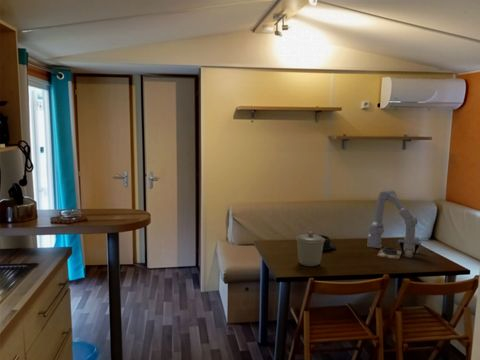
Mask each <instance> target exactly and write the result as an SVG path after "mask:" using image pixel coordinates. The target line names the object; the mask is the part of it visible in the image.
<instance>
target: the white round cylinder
mask: <svg viewBox="0 0 480 360" xmlns="http://www.w3.org/2000/svg"><path fill="white" fill-rule="evenodd" d="M413 256H414V253H413V249H411V248H406V249H405V251H404V257H405V258H413Z"/></svg>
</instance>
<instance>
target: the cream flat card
mask: <svg viewBox="0 0 480 360" xmlns="http://www.w3.org/2000/svg"><path fill="white" fill-rule="evenodd" d="M401 255H403V254H402V250H398V249H397V248H396V247H391V246H384V247H383V248H382V247H381V248H380V250H379V251H378V253H377V255H376V256H377V257H381V258H386V259H387V258H388V259H395V260H399V259H400V258H401Z"/></svg>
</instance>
